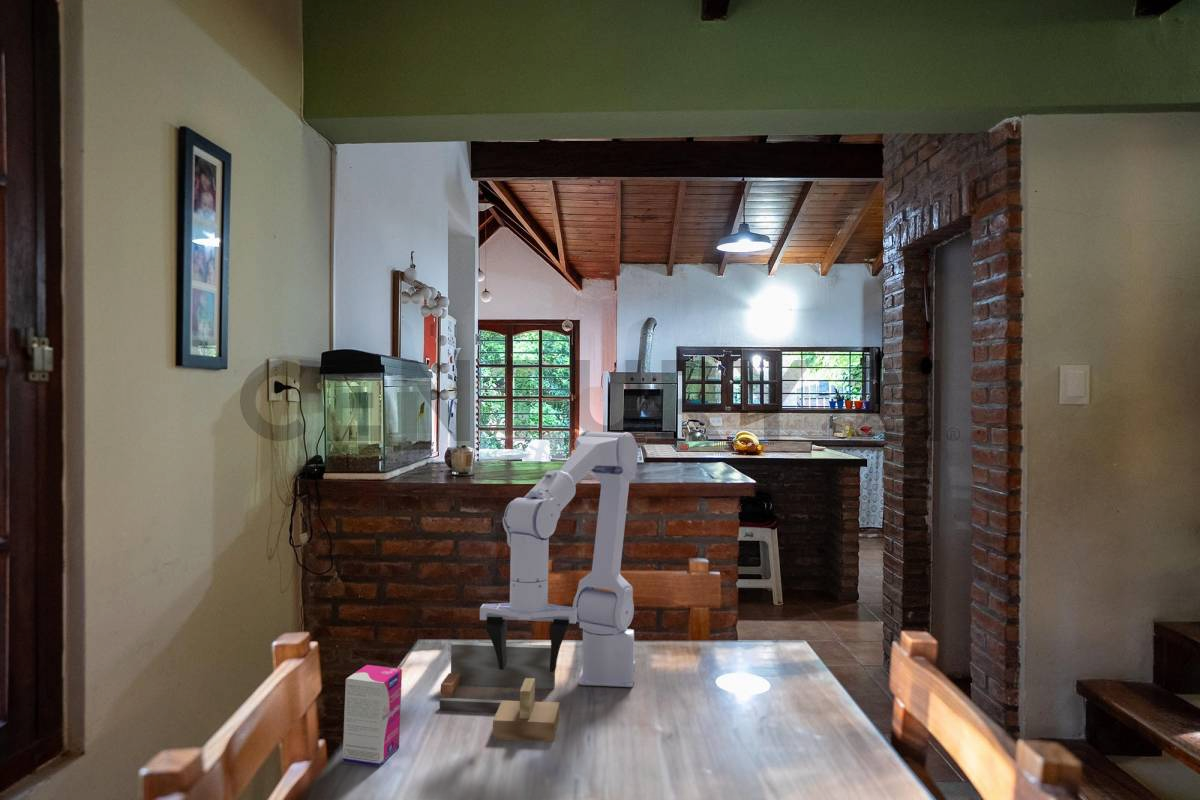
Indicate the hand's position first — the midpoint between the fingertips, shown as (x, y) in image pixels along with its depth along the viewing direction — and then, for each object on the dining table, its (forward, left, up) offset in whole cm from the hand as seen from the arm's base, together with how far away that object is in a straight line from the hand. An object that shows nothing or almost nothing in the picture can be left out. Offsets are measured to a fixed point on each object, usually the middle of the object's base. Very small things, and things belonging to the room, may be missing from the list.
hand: (527, 668), depth 108 cm
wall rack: (+7, -11, -9) cm, 16 cm away
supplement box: (+20, +10, -9) cm, 24 cm away
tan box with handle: (0, 0, -10) cm, 10 cm away
